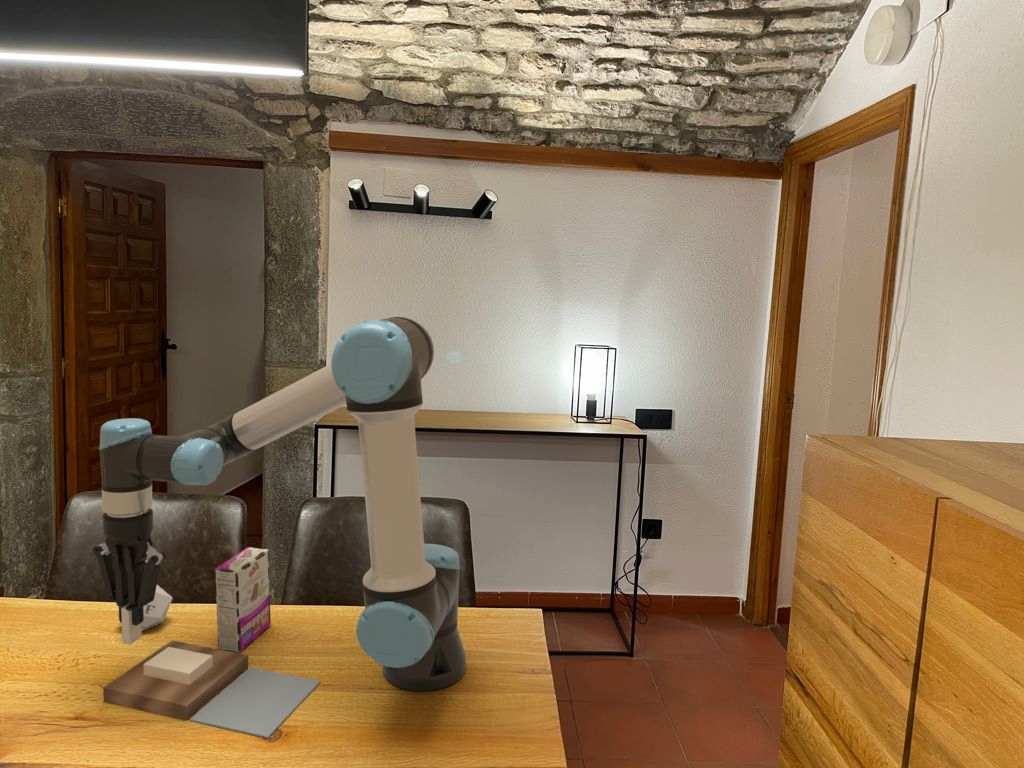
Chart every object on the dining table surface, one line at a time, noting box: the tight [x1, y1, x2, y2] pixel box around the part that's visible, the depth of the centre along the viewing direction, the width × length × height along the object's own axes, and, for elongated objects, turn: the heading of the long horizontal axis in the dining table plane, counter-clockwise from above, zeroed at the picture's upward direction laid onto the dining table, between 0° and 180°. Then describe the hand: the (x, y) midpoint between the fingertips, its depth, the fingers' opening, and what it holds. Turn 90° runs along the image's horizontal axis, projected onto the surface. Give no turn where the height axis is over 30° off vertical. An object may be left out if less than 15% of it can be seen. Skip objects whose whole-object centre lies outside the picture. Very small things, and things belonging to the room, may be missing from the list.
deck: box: [102, 640, 249, 721], centre depth 123 cm, size 16×16×2 cm
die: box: [117, 584, 173, 632], centre depth 142 cm, size 8×9×10 cm
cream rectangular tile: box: [143, 647, 213, 685], centre depth 122 cm, size 9×6×2 cm, turn 76°
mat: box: [189, 666, 321, 739], centre depth 119 cm, size 14×16×1 cm
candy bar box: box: [214, 546, 272, 654], centre depth 138 cm, size 11×5×16 cm, turn 168°
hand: (132, 640), depth 124 cm, fingers closed
